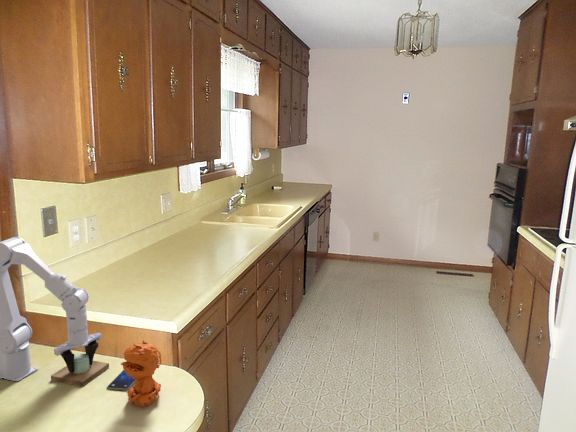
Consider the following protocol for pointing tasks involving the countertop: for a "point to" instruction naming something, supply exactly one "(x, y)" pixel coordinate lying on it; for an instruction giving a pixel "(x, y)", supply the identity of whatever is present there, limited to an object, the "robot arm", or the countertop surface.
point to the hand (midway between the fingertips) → (80, 367)
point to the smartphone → (121, 382)
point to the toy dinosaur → (142, 372)
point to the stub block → (80, 374)
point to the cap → (81, 363)
